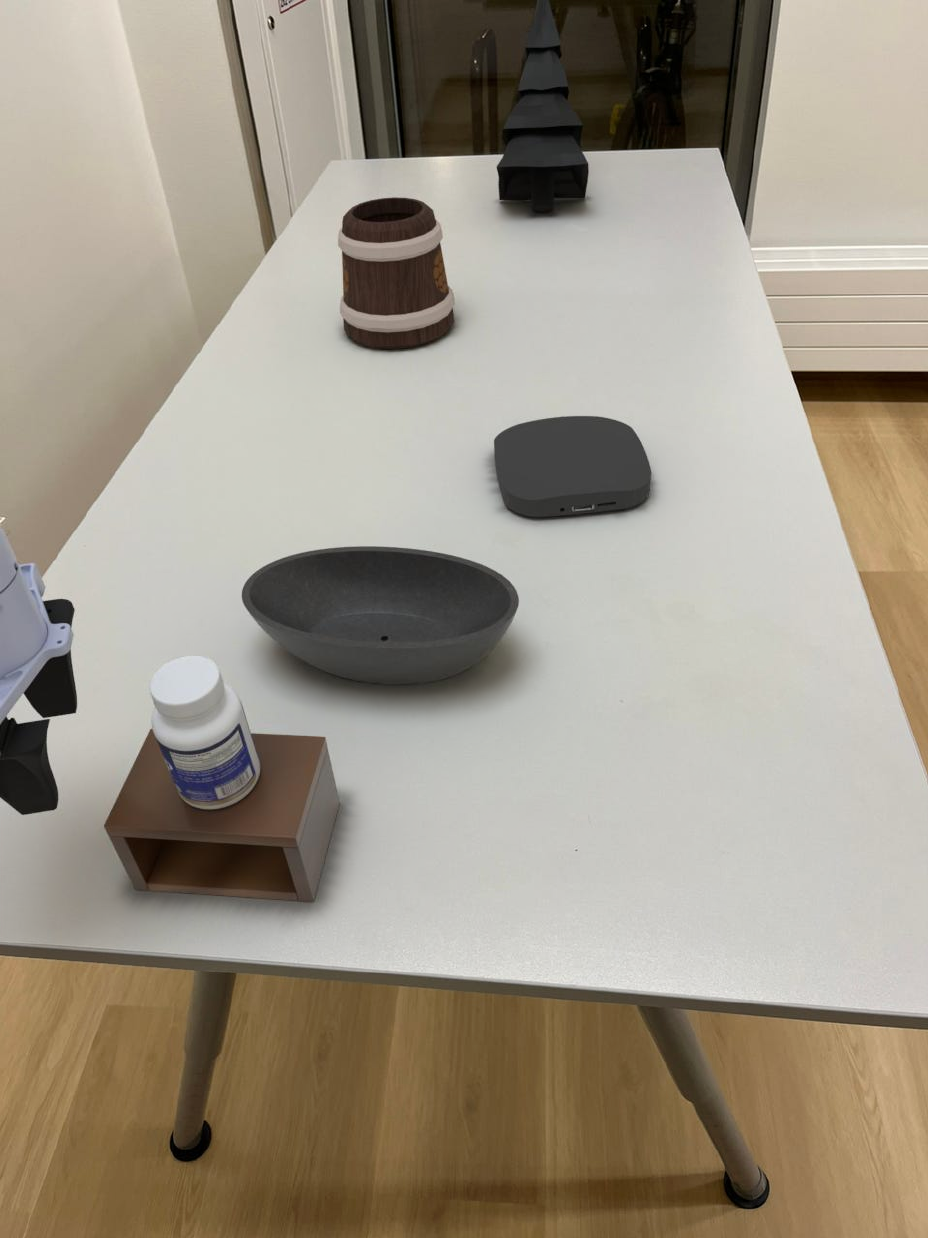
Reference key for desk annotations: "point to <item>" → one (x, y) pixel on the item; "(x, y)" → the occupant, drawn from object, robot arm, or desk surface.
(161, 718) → the pill bottle
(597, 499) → the media streaming box
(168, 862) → the shelf
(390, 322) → the mug
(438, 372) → the desk surface
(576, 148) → the decorative tree
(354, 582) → the bowl
